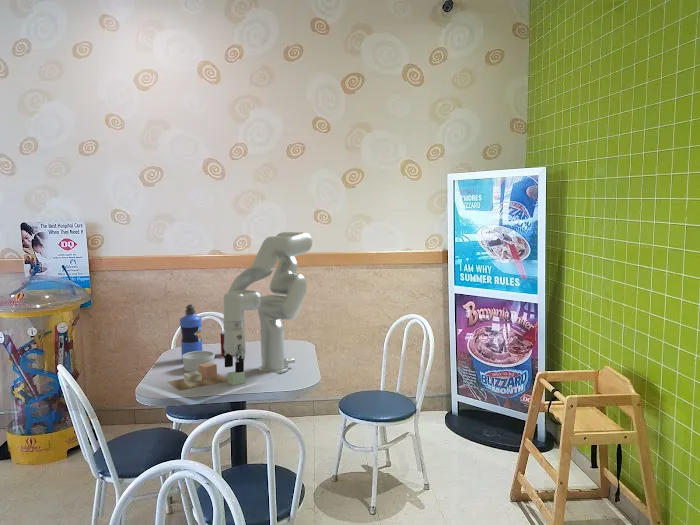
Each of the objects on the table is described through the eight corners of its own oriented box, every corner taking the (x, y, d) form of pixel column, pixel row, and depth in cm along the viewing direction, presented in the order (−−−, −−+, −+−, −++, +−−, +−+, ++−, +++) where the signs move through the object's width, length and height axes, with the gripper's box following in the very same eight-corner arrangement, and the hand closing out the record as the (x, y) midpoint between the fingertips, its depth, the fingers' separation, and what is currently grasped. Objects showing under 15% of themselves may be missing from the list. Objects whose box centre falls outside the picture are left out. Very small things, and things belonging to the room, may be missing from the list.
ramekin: (197, 377, 242) (196, 360, 241) (175, 372, 249) (175, 356, 249) (221, 369, 253) (221, 353, 252) (200, 364, 260) (199, 349, 260)
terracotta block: (209, 374, 241) (208, 362, 241) (217, 376, 238) (216, 364, 237) (198, 377, 237) (198, 365, 237) (206, 379, 234) (206, 367, 234)
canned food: (221, 357, 271) (220, 333, 270) (220, 353, 279) (220, 330, 278) (238, 356, 273) (237, 332, 272) (237, 352, 281) (236, 329, 280)
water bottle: (206, 357, 272) (203, 303, 270) (198, 363, 263) (196, 306, 260) (186, 357, 273) (183, 303, 270) (178, 362, 264) (175, 306, 261)
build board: (216, 375, 244) (215, 362, 243) (230, 383, 232) (229, 370, 232) (167, 384, 232) (166, 371, 232) (179, 393, 221) (179, 380, 220)
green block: (239, 382, 234) (239, 370, 233) (245, 386, 230) (244, 373, 229) (227, 385, 231) (227, 372, 230) (233, 388, 227) (232, 375, 226)
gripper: (253, 327, 223) (253, 372, 224) (233, 320, 237) (233, 363, 238) (234, 329, 218) (234, 375, 219) (215, 322, 232) (215, 366, 233)
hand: (234, 369), depth 229 cm, fingers open, 9 cm apart
